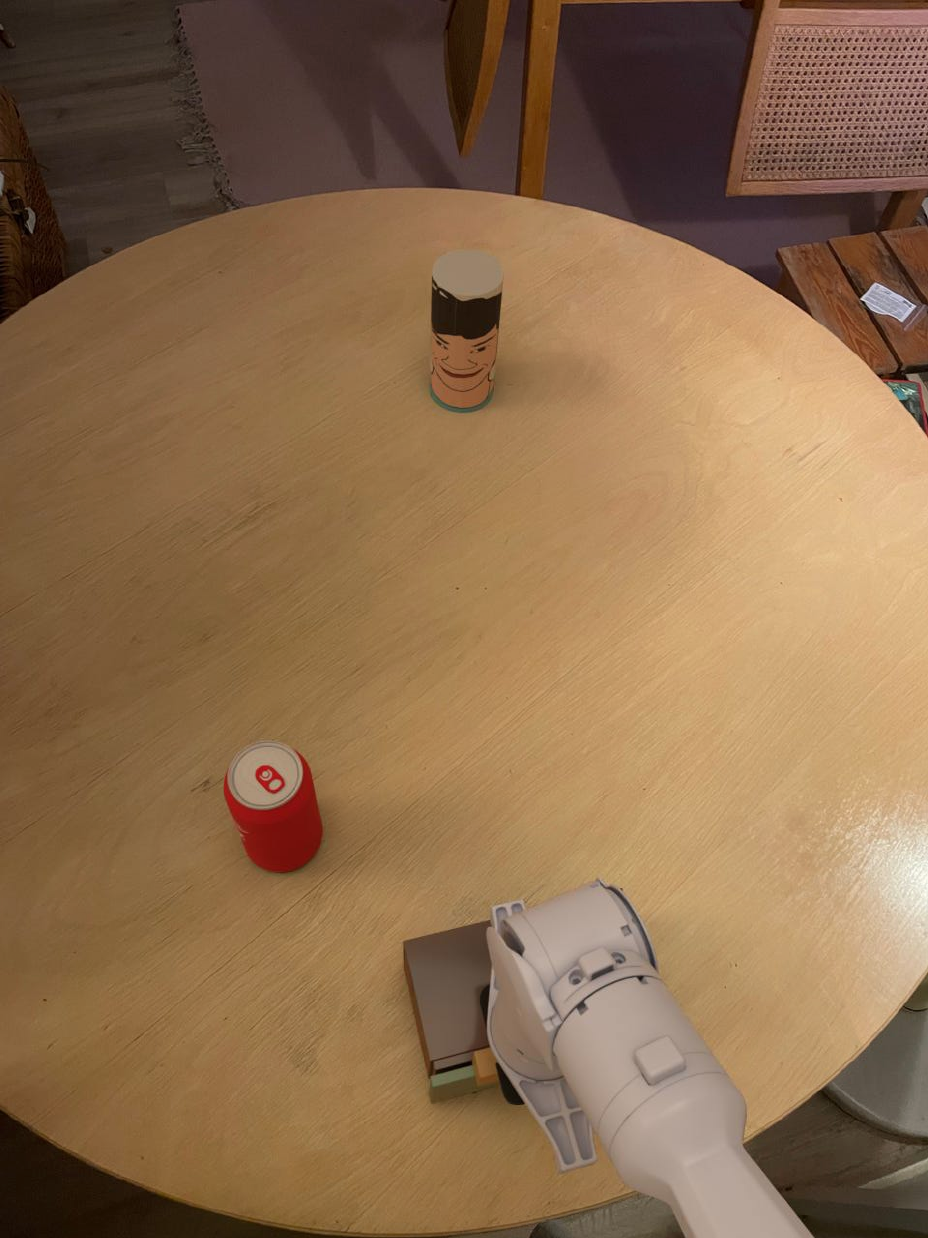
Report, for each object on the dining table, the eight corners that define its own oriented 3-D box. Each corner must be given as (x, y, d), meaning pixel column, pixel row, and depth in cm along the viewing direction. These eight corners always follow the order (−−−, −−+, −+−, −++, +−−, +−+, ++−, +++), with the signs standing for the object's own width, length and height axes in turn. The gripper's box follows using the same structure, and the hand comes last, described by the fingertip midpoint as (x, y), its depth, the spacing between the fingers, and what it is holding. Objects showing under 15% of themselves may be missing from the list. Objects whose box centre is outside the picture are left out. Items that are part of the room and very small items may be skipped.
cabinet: (645, 1030, 75) (664, 1009, 69) (430, 1089, 72) (432, 1071, 67) (607, 915, 79) (622, 887, 74) (403, 966, 77) (402, 941, 71)
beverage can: (289, 785, 84) (272, 716, 74) (339, 838, 82) (329, 774, 72) (227, 836, 82) (201, 771, 72) (277, 892, 79) (257, 833, 69)
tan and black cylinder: (416, 392, 109) (417, 275, 97) (454, 358, 112) (460, 239, 100) (468, 422, 107) (475, 305, 95) (505, 385, 110) (517, 268, 98)
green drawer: (544, 1083, 72) (561, 1056, 64) (433, 1114, 71) (436, 1090, 63) (538, 1060, 73) (553, 1030, 65) (427, 1089, 72) (429, 1063, 64)
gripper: (668, 1134, 52) (622, 1164, 63) (580, 861, 59) (553, 931, 71) (533, 1173, 50) (511, 1196, 62) (460, 889, 58) (452, 956, 69)
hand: (526, 1057), depth 66 cm, fingers closed on green drawer, 2 cm apart
